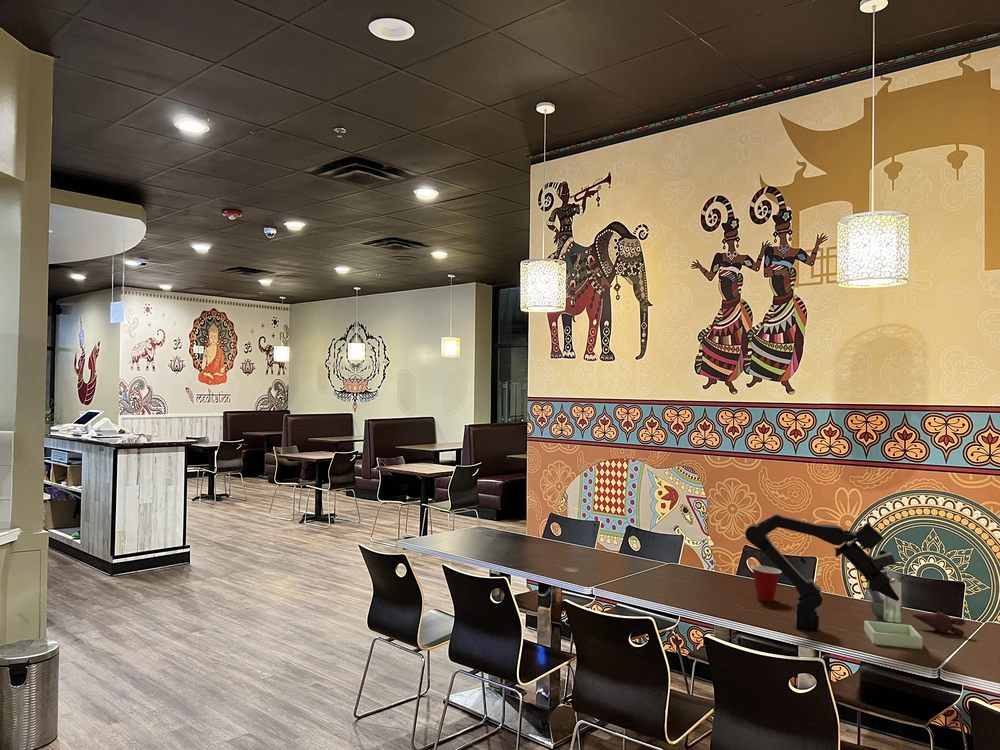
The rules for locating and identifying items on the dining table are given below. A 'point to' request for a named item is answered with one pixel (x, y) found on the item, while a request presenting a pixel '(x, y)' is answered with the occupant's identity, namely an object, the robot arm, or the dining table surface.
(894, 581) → the cylinder with three balls
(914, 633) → the pale green bin
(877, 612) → the mortar and pestle
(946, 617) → the icecream
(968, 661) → the dining table surface
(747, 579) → the dining table surface
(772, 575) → the plastic cup
